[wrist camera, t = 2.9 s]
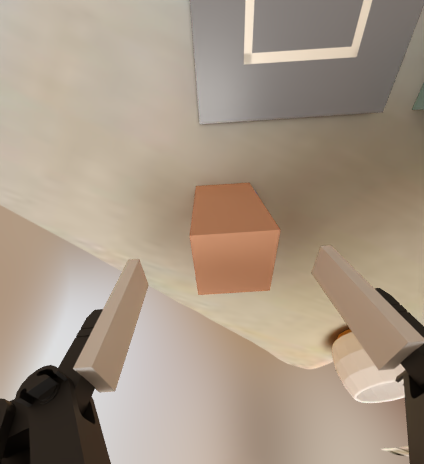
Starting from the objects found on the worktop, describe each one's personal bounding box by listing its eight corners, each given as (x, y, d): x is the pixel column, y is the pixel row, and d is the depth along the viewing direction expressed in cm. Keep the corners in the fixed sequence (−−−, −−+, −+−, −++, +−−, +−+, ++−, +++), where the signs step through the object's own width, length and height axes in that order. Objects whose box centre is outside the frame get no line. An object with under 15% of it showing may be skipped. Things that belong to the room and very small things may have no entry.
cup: (343, 353, 44) (374, 407, 36) (309, 340, 40) (336, 398, 32) (393, 329, 38) (444, 386, 30) (360, 311, 35) (407, 371, 26)
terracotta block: (249, 182, 20) (280, 229, 12) (246, 228, 24) (269, 290, 15) (195, 186, 20) (189, 235, 12) (200, 231, 24) (198, 294, 15)
